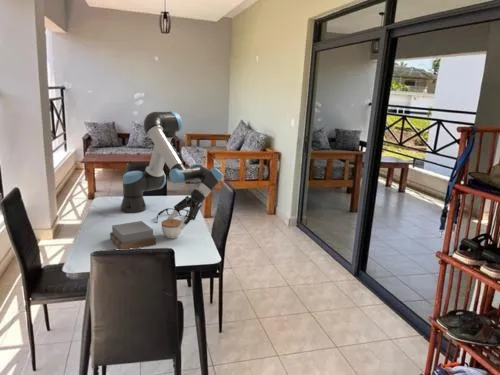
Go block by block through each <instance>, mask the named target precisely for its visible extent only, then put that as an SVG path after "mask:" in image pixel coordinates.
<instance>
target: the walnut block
mask: <svg viewBox="0 0 500 375" xmlns="http://www.w3.org/2000/svg"><path fill="white" fill-rule="evenodd" d="M109 239H110V241H111V240H112V241H113V242H112V241H111V242H112V243H113V244H114V245H115V246H116V247H117V249H118V250H120V249H130V248H135V249H139V247H141V248H145V246H146V247H150V246H156V245H157V238H156V237H155V236H154V235H153V238H148V239H143V240H137V241H132V242H127V243H122V242H121V241H120V240H119V239H118V238H117V237H116V236H115V235H114V234H113V233H112V231H110V232H109ZM130 250H131V249H130Z"/></svg>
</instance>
